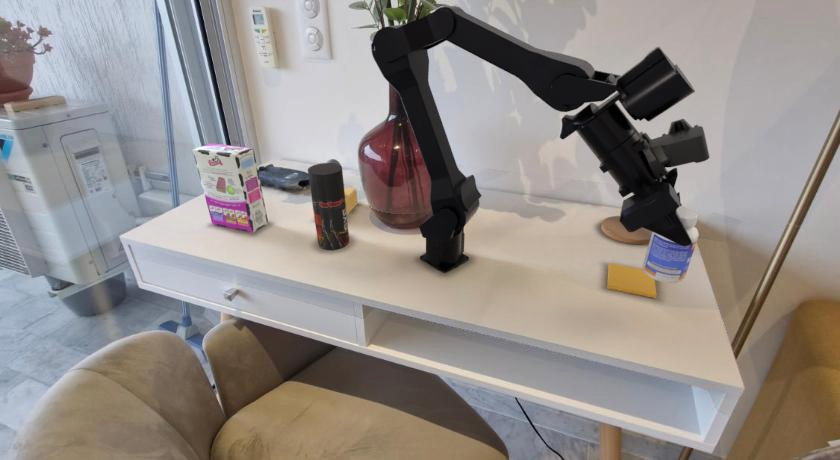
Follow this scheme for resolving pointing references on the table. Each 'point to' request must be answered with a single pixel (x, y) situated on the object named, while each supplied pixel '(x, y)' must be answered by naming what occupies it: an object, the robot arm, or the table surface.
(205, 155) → the candy bar box
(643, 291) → the mustard cloth
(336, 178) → the deodorant
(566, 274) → the table surface
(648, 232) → the cork trivet
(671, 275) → the pill bottle
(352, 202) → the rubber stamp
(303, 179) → the electronic device
